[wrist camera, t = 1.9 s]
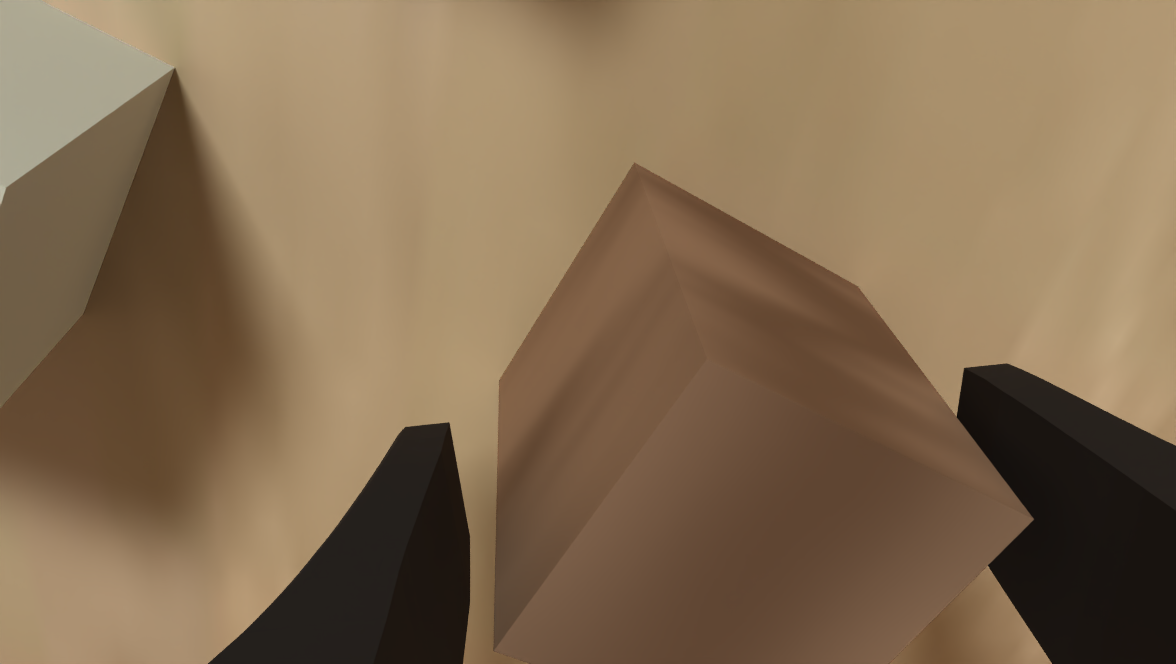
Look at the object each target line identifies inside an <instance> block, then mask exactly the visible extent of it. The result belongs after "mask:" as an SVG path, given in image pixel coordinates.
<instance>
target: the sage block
mask: <svg viewBox="0 0 1176 664" xmlns="http://www.w3.org/2000/svg"><path fill="white" fill-rule="evenodd" d="M174 69H175V67H173V66H171V65H169V64H167V63H165V62H163V61H161V60H159V59H157V58H155V57H153V56H151V55H149V54H147V53H145V52H143V51H141V50H139V49H137V48H135V47H133V46H131V45H129V44H127V43H125V42H123V41H121V40H119V39H117V38H115V37H113V36H111V35H109V34H107V33H105V32H103V31H101V30H99V29H97V28H95V27H93V26H91V25H89V24H87V23H85V22H83V21H81V20H79V19H78V18H76V17H74V16H72V15H70V14H68V13H66V12H64V11H62V10H60V9H58V8H56V7H54V6H52V5H50V4H48V3H46V2H44V1H42V0H0V408H1V407H2V406H3V405H4V404H5V402H6V401H7V400H8V399H9V398H10V397H11V396H12V394H13V393H14V392H15V391H16V390H17V389H18V388H19V386H20V385H21V384H22V383H23V382H24V381H25V380H26V379H27V377H28V376H29V375H30V374H31V373H32V372H33V371H34V369H35V368H36V367H37V366H38V365H39V364H40V363H41V362H42V360H43V359H44V358H45V357H46V356H47V355H48V354H49V352H50V351H51V350H52V349H53V348H54V347H55V346H56V344H57V343H58V342H59V341H60V340H61V339H62V338H63V337H64V335H65V334H66V333H67V332H68V331H69V330H70V329H71V327H72V326H73V325H74V324H75V323H76V322H77V321H78V319H79V318H80V317H81V316H82V315H83V314H84V311H85V308H86V306H87V303H88V300H89V297H90V295H91V292H92V289H93V287H94V284H95V281H96V279H97V276H98V273H99V271H100V268H101V265H102V262H103V260H104V257H105V254H106V252H107V249H108V246H109V244H110V241H111V238H112V236H113V233H114V230H115V228H116V225H117V222H118V219H119V217H120V214H121V211H122V209H123V206H124V203H125V201H126V198H127V195H128V193H129V190H130V187H131V184H132V182H133V179H134V176H135V174H136V171H137V168H138V166H139V163H140V160H141V158H142V155H143V152H144V149H145V147H146V144H147V141H148V139H149V136H150V133H151V131H152V128H153V125H154V123H155V120H156V117H157V114H158V112H159V109H160V106H161V104H162V101H163V98H164V96H165V93H166V90H167V88H168V85H169V82H170V79H171V77H172V74H173V71H174Z"/></svg>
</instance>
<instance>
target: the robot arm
mask: <svg viewBox="0 0 1176 664" xmlns="http://www.w3.org/2000/svg"><path fill="white" fill-rule="evenodd" d="M957 418H958V420H959V421H960V422H961V424H962V425H963V426H964V428H965V429H966V430H967V432H968V433H969V434H970V435H971V437H972V438H973V439H974V441H975V442H976V443H977V445H978V446H979V447H980V449H981V450H982V451H983V453H984V454H985V455H986V457H987V458H988V459H989V461H990V462H991V463H992V465H993V466H994V467H995V468H996V470H997V471H998V472H999V474H1000V475H1001V476H1002V478H1003V479H1004V480H1005V482H1006V483H1007V484H1008V486H1009V487H1010V488H1011V490H1012V491H1013V492H1014V494H1015V495H1016V496H1017V498H1018V499H1019V500H1020V502H1021V503H1022V504H1023V505H1024V507H1025V508H1026V509H1027V511H1028V512H1029V513H1030V515H1031V516H1032V517H1033V519H1034V520H1033V521H1032V522H1031V523H1030V524H1029V525H1028V526H1027V527H1026V528H1025V529H1024V530H1023V531H1022V532H1021V533H1020V534H1019V535H1018V536H1017V537H1016V538H1015V539H1014V540H1013V541H1012V542H1011V543H1010V544H1009V545H1008V546H1007V547H1006V548H1005V549H1004V550H1003V551H1002V552H1001V553H1000V554H999V555H998V556H997V557H996V558H995V559H994V560H993V561H992V562H991V563H990V564H989V565H988V567H989V568H990V570H991V571H992V573H993V574H994V576H995V577H996V579H997V580H998V582H999V584H1000V585H1001V587H1002V588H1003V590H1004V591H1005V593H1006V594H1007V596H1008V597H1009V599H1010V600H1011V602H1012V603H1013V605H1014V606H1015V608H1016V609H1017V611H1018V612H1019V614H1020V615H1021V617H1022V618H1023V620H1024V622H1025V623H1026V625H1027V626H1028V628H1029V629H1030V631H1031V632H1032V634H1033V635H1034V637H1035V638H1036V640H1037V641H1038V643H1039V644H1040V646H1041V647H1042V649H1043V650H1044V652H1045V653H1046V655H1047V656H1048V658H1049V659H1050V661H1051V662H1052V664H1176V446H1175V445H1173V444H1171V443H1169V442H1167V441H1165V440H1162V439H1160V438H1158V437H1156V436H1154V435H1152V434H1150V433H1148V432H1146V431H1144V430H1142V429H1140V428H1138V427H1136V426H1134V425H1132V424H1130V423H1128V422H1126V421H1124V420H1122V419H1120V418H1118V417H1116V416H1114V415H1112V414H1110V413H1108V412H1106V411H1104V410H1102V409H1100V408H1098V407H1096V406H1094V405H1092V404H1090V403H1088V402H1087V401H1085V400H1083V399H1081V398H1079V397H1077V396H1075V395H1073V394H1071V393H1069V392H1067V391H1065V390H1063V389H1061V388H1059V387H1057V386H1055V385H1053V384H1051V383H1049V382H1047V381H1045V380H1043V379H1041V378H1039V377H1037V376H1035V375H1033V374H1030V373H1028V372H1026V371H1024V370H1022V369H1019V368H1017V367H1014V366H1012V365H1010V364H998V365H988V366H979V367H969V368H964V372H963V379H962V386H961V392H960V399H959V405H958V412H957ZM469 606H470V534H469V529H468V523H467V518H466V512H465V507H464V501H463V496H462V490H461V485H460V479H459V474H458V468H457V462H456V457H455V451H454V446H453V440H452V435H451V429H450V424H449V423H440V424H430V425H421V426H411V427H405V428H404V429H403V430H402V431H401V432H400V433H399V435H398V436H397V438H396V439H395V441H394V442H393V444H392V446H391V447H390V449H389V450H388V452H387V454H386V455H385V457H384V458H383V460H382V462H381V463H380V465H379V466H378V468H377V469H376V471H375V472H374V474H373V475H372V477H371V478H370V480H369V481H368V483H367V484H366V486H365V487H364V489H363V490H362V492H361V493H360V494H359V496H358V497H357V499H356V500H355V501H354V503H353V504H352V506H351V507H350V508H349V510H348V511H347V513H346V514H345V515H344V517H343V518H342V520H341V521H340V522H339V524H338V525H337V526H336V528H335V529H334V530H333V532H332V533H331V534H330V536H329V537H328V538H327V539H326V541H325V542H324V543H323V544H322V545H321V547H320V548H319V549H318V550H317V552H316V553H315V554H314V555H313V557H312V558H311V559H310V560H309V561H308V563H307V564H306V565H305V566H304V568H303V569H302V570H301V571H300V573H299V574H298V575H297V576H296V577H295V578H294V580H293V581H292V582H291V583H290V584H289V585H288V586H287V587H286V589H285V590H284V591H283V592H282V593H281V594H280V595H279V596H278V597H277V598H276V599H275V601H274V602H273V603H272V604H271V605H270V606H269V607H268V608H267V609H266V610H265V611H264V612H263V613H262V614H261V615H260V616H259V617H258V618H257V619H256V620H255V621H254V622H253V623H252V624H251V625H250V626H249V627H248V628H247V629H246V630H245V631H244V632H243V633H242V634H241V635H240V636H239V637H238V638H236V639H235V640H234V641H233V642H232V643H231V644H230V645H229V646H227V647H226V648H225V649H224V650H223V651H222V652H221V653H219V654H218V655H217V656H216V657H215V658H214V659H213V660H212V661H210V662H209V663H208V664H463V658H464V649H465V641H466V632H467V624H468V615H469Z"/></svg>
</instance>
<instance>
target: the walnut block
mask: <svg viewBox="0 0 1176 664" xmlns="http://www.w3.org/2000/svg"><path fill="white" fill-rule="evenodd" d="M1033 520H1034V519H1033V517H1032V516H1031V515H1030V513H1029V512H1028V511H1027V509H1026V508H1025V507H1024V505H1023V504H1022V503H1021V502H1020V500H1019V499H1018V498H1017V496H1016V495H1015V494H1014V492H1013V491H1012V490H1011V488H1010V487H1009V486H1008V484H1007V483H1006V482H1005V480H1004V479H1003V478H1002V476H1001V475H1000V474H999V472H998V471H997V470H996V468H995V467H994V466H993V465H992V463H991V462H990V461H989V459H988V458H987V457H986V455H985V454H984V453H983V451H982V450H981V449H980V447H979V446H978V445H977V443H976V442H975V441H974V439H973V438H972V437H971V435H970V434H969V433H968V432H967V430H966V429H965V428H964V426H963V425H962V424H961V422H960V421H959V420H958V418H957V417H956V416H955V414H954V413H953V412H952V410H951V409H950V408H949V406H948V405H947V404H946V402H945V401H944V400H943V398H942V397H941V396H940V395H939V393H938V392H937V391H936V389H935V388H934V387H933V385H932V384H931V383H930V381H929V380H928V379H927V377H926V376H925V375H924V373H923V372H922V371H921V369H920V368H919V367H918V365H917V364H916V363H915V362H914V360H913V359H912V358H911V356H910V355H909V354H908V352H907V351H906V350H905V348H904V347H903V346H902V344H901V343H900V342H899V340H898V339H897V338H896V336H895V335H894V334H893V332H892V331H891V330H890V329H889V327H888V326H887V325H886V323H885V322H884V321H883V319H882V318H881V317H880V315H879V314H878V313H877V311H876V310H875V309H874V307H873V306H872V305H871V303H870V302H869V301H868V299H867V298H866V297H865V295H864V294H863V293H862V292H861V290H860V289H859V288H858V286H856V285H854V284H852V283H851V282H849V281H847V280H845V279H843V278H842V277H840V276H838V275H836V274H834V273H833V272H831V271H829V270H827V269H825V268H824V267H822V266H820V265H818V264H816V263H815V262H813V261H811V260H809V259H807V258H806V257H804V256H802V255H800V254H798V253H797V252H795V251H793V250H791V249H789V248H788V247H786V246H784V245H782V244H780V243H779V242H777V241H775V240H773V239H771V238H770V237H768V236H766V235H764V234H762V233H760V232H759V231H757V230H755V229H753V228H751V227H750V226H748V225H746V224H744V223H742V222H741V221H739V220H737V219H735V218H733V217H732V216H730V215H728V214H726V213H724V212H723V211H721V210H719V209H717V208H715V207H714V206H712V205H710V204H708V203H706V202H705V201H703V200H701V199H699V198H697V197H696V196H694V195H692V194H690V193H688V192H687V191H685V190H683V189H681V188H679V187H678V186H676V185H674V184H672V183H670V182H668V181H667V180H665V179H663V178H661V177H659V176H658V175H656V174H654V173H652V172H650V171H649V170H647V169H645V168H643V167H641V166H640V165H638V164H636V163H634V164H633V166H632V167H631V169H630V171H629V172H628V174H627V176H626V177H625V179H624V180H623V182H622V184H621V185H620V187H619V188H618V190H617V192H616V193H615V195H614V196H613V198H612V200H611V201H610V203H609V205H608V206H607V208H606V209H605V211H604V213H603V214H602V216H601V217H600V219H599V221H598V222H597V224H596V225H595V227H594V229H593V230H592V232H591V233H590V235H589V237H588V238H587V240H586V242H585V243H584V245H583V246H582V248H581V250H580V251H579V253H578V254H577V256H576V258H575V259H574V261H573V262H572V264H571V266H570V267H569V269H568V270H567V272H566V274H565V275H564V277H563V279H562V280H561V282H560V283H559V285H558V287H557V288H556V290H555V291H554V293H553V295H552V296H551V298H550V299H549V301H548V303H547V304H546V306H545V307H544V309H543V311H542V312H541V314H540V316H539V317H538V319H537V320H536V322H535V324H534V325H533V327H532V328H531V330H530V332H529V333H528V335H527V336H526V338H525V340H524V341H523V343H522V345H521V346H520V348H519V349H518V351H517V353H516V354H515V356H514V357H513V359H512V361H511V362H510V364H509V365H508V367H507V369H506V370H505V372H504V373H503V375H502V377H501V378H500V380H499V417H498V464H497V510H496V557H495V604H494V650H493V651H494V652H497V653H500V654H503V655H506V656H509V657H512V658H515V659H518V660H521V661H524V662H527V663H529V664H889V663H890V662H891V661H892V660H893V659H894V658H895V657H896V656H897V655H898V654H899V653H900V652H901V651H902V650H903V649H904V648H905V647H906V646H907V645H908V644H909V643H910V642H911V641H912V640H913V639H914V638H915V637H916V636H917V635H918V634H919V633H920V632H921V631H922V630H923V629H924V628H925V627H926V626H927V625H928V624H929V623H930V622H931V621H932V620H933V619H934V618H935V617H936V616H937V615H938V614H939V613H940V612H941V611H942V610H943V609H944V608H945V607H946V606H947V605H948V604H949V603H950V602H951V601H953V600H954V599H955V598H956V597H957V596H958V595H959V594H960V593H961V592H962V591H963V590H964V589H965V588H966V587H967V586H968V585H969V584H970V583H971V582H972V581H973V580H974V579H975V578H976V577H977V576H978V575H979V574H980V573H981V572H982V571H983V570H984V569H985V568H986V567H987V566H988V565H989V564H990V563H991V562H992V561H993V560H994V559H995V558H996V557H997V556H998V555H999V554H1000V553H1001V552H1002V551H1003V550H1004V549H1005V548H1006V547H1007V546H1008V545H1009V544H1010V543H1011V542H1012V541H1013V540H1014V539H1015V538H1016V537H1017V536H1018V535H1019V534H1020V533H1021V532H1022V531H1023V530H1024V529H1025V528H1026V527H1027V526H1028V525H1029V524H1030V523H1031V522H1032V521H1033Z"/></svg>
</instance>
